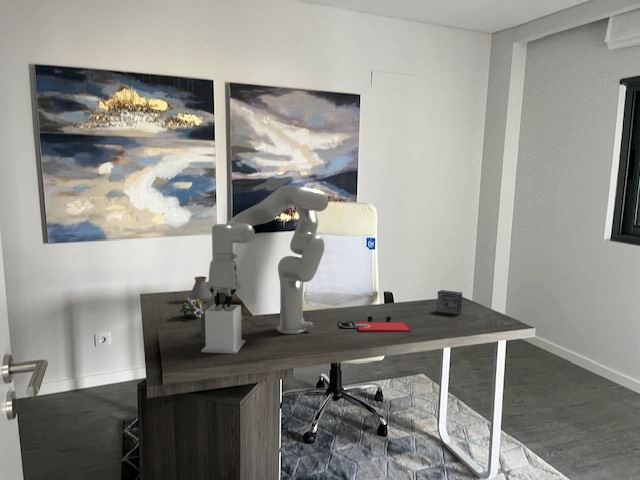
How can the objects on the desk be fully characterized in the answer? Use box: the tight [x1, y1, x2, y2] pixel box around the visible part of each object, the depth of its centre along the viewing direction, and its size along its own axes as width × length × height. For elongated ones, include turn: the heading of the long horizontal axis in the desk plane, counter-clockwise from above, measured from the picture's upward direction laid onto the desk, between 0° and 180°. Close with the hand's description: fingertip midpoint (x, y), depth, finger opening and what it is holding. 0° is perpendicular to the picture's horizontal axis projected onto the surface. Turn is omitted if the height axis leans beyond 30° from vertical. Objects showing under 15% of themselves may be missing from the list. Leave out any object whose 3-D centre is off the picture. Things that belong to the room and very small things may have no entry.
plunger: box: [218, 291, 228, 312], centre depth 177 cm, size 8×8×20 cm
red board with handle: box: [338, 315, 413, 333], centre depth 205 cm, size 30×3×15 cm
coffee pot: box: [189, 275, 213, 304], centre depth 248 cm, size 21×12×15 cm, turn 97°
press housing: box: [200, 303, 246, 355], centre depth 177 cm, size 15×13×15 cm
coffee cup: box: [225, 298, 245, 324], centre depth 197 cm, size 9×8×13 cm
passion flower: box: [178, 296, 204, 319], centre depth 217 cm, size 11×11×12 cm
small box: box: [436, 289, 463, 316], centre depth 229 cm, size 11×6×10 cm, turn 58°
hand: (223, 305), depth 176 cm, fingers closed on plunger, 3 cm apart
